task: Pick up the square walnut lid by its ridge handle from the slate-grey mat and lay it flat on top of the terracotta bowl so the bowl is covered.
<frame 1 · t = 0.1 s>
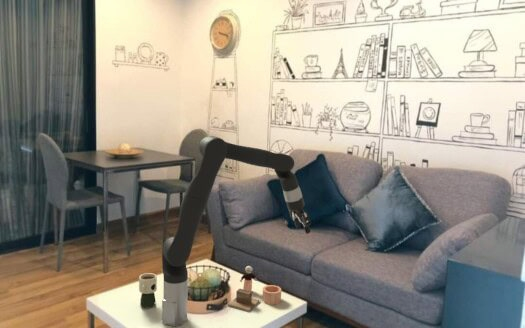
hand: (303, 230, 191), 31 cm above the table, tool tilted 20°, fingers open, 8 cm apart
bowl: (271, 301, 191), on the table
lid: (243, 304, 186), point 1 cm above the table, touching mat
grandmother figurine: (248, 292, 199), on the table
mat: (243, 305, 186), on the table
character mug: (148, 306, 183), on the table
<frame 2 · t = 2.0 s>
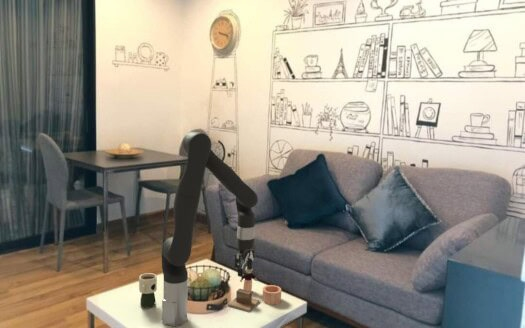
hand: (245, 272, 184), 15 cm above the table, tool pointing down, fingers open, 8 cm apart
nothing on the table moved.
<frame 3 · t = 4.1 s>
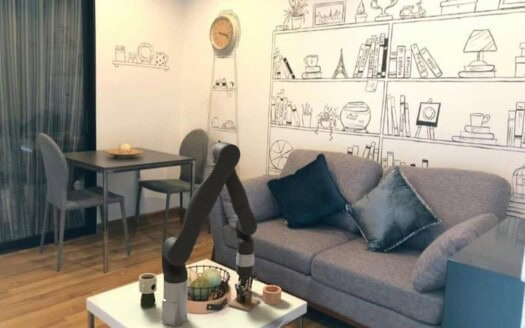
hand: (243, 300, 186), 2 cm above the table, tool pointing down, fingers closed on lid, 2 cm apart
lid: (243, 304, 186), point 1 cm above the table, touching gripper, mat
everything else where it was.
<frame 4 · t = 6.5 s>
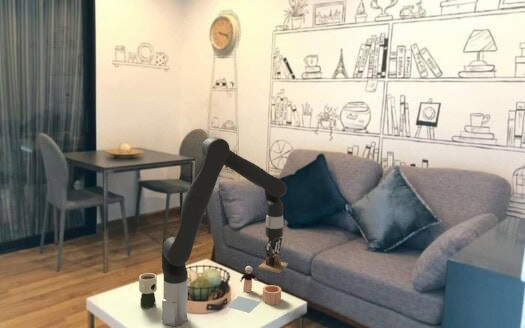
hand: (273, 263, 188), 18 cm above the table, tool pointing down, fingers closed on lid, 2 cm apart
lid: (273, 266, 188), point 16 cm above the table, touching gripper
everything else where it was.
when the fingers open (8 cm above the table, at t = 8.8 s): lid drops 2 cm, resting on bowl.
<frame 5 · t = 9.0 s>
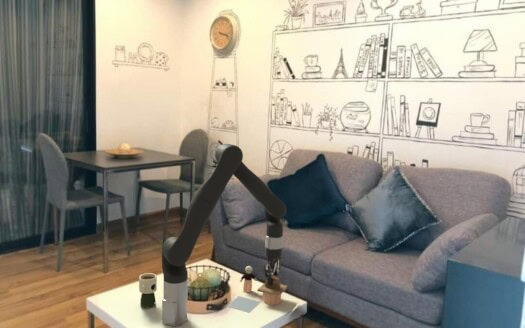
hand: (272, 282, 189), 9 cm above the table, tool pointing down, fingers open, 4 cm apart
lid: (272, 289, 190), point 6 cm above the table, touching bowl
everything else where it was.
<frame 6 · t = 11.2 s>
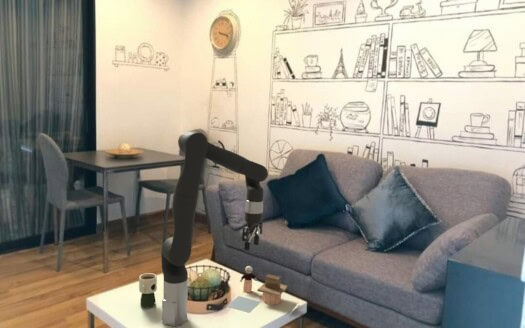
hand: (251, 247, 186), 25 cm above the table, tool pointing down, fingers open, 8 cm apart
nothing on the table moved.
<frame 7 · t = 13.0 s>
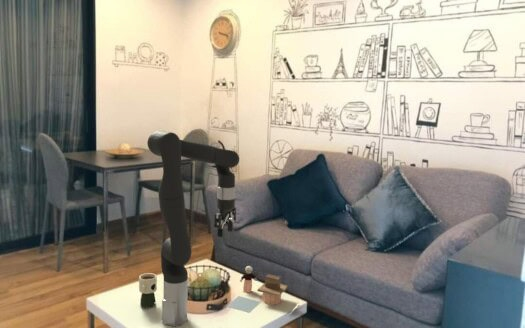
hand: (225, 233, 186), 30 cm above the table, tool pointing down, fingers open, 8 cm apart
nothing on the table moved.
at the end: lid 0.3 cm off-centre on the bowl, point 5.8 cm above the bowl's base; lid tilted 0°; the gripper is holding nothing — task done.
